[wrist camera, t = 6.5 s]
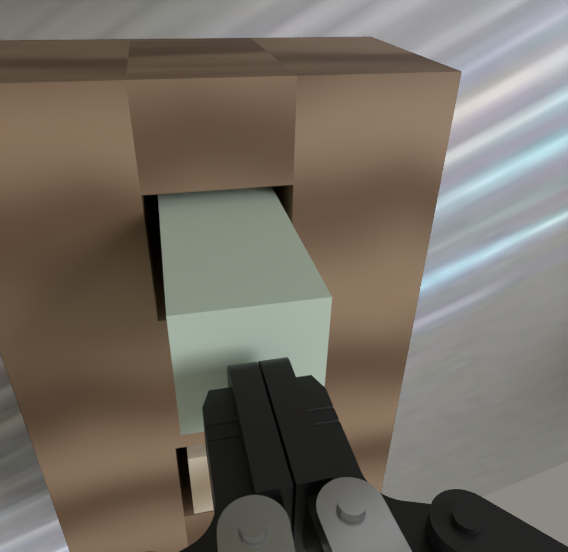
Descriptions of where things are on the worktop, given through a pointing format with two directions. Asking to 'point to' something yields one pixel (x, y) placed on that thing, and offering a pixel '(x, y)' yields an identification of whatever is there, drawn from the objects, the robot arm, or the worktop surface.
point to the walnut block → (148, 253)
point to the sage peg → (237, 292)
